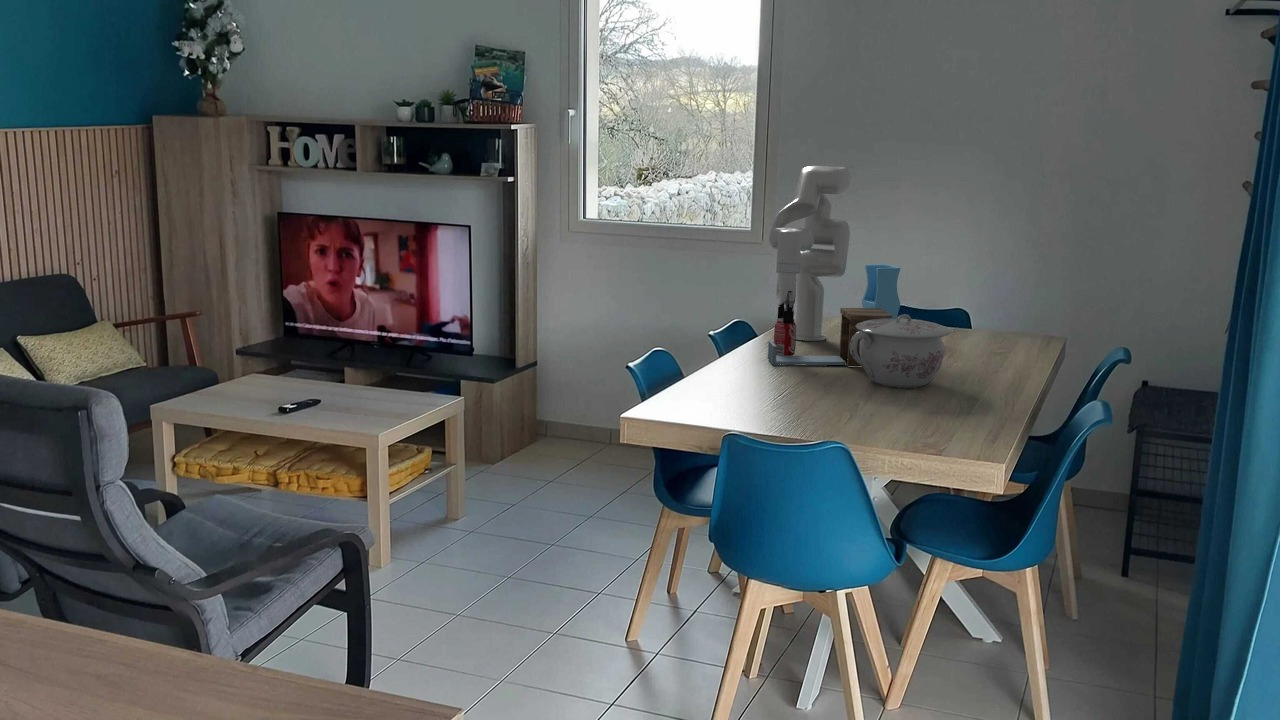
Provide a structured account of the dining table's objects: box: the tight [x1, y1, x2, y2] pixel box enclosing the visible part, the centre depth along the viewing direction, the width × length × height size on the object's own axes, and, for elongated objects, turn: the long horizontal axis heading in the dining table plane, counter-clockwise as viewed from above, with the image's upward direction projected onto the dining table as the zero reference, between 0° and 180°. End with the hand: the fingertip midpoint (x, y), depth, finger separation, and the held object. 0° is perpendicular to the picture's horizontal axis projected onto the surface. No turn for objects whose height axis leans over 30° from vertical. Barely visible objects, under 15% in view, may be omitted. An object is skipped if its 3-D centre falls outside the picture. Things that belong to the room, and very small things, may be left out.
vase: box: [861, 263, 901, 318], centre depth 408 cm, size 10×10×25 cm
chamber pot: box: [849, 313, 952, 389], centre depth 335 cm, size 28×28×21 cm
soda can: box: [773, 317, 797, 356], centre depth 372 cm, size 7×7×12 cm
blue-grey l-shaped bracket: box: [767, 340, 846, 366], centre depth 362 cm, size 9×23×6 cm, turn 93°
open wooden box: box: [838, 307, 892, 367], centre depth 362 cm, size 14×13×17 cm
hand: (785, 321), depth 370 cm, fingers open, 9 cm apart
